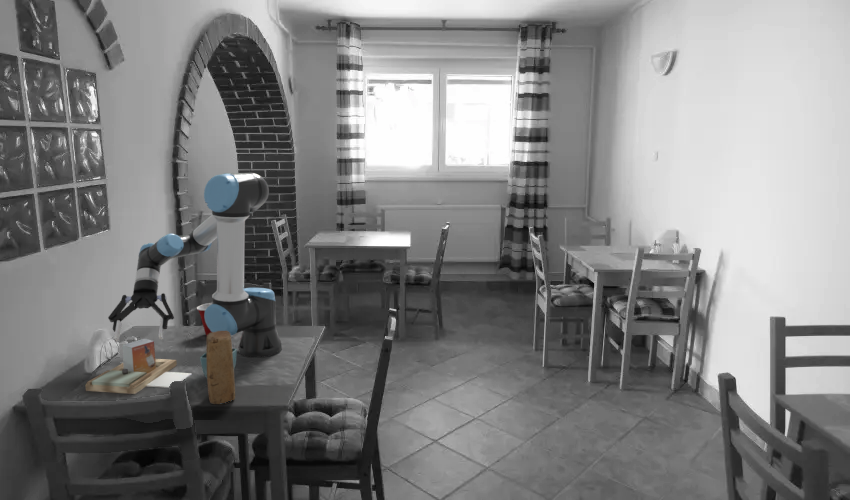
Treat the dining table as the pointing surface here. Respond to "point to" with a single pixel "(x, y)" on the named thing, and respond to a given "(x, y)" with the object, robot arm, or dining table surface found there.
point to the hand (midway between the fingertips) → (138, 338)
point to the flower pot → (204, 361)
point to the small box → (139, 356)
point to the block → (220, 367)
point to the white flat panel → (168, 379)
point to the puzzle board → (128, 378)
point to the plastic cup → (202, 311)
